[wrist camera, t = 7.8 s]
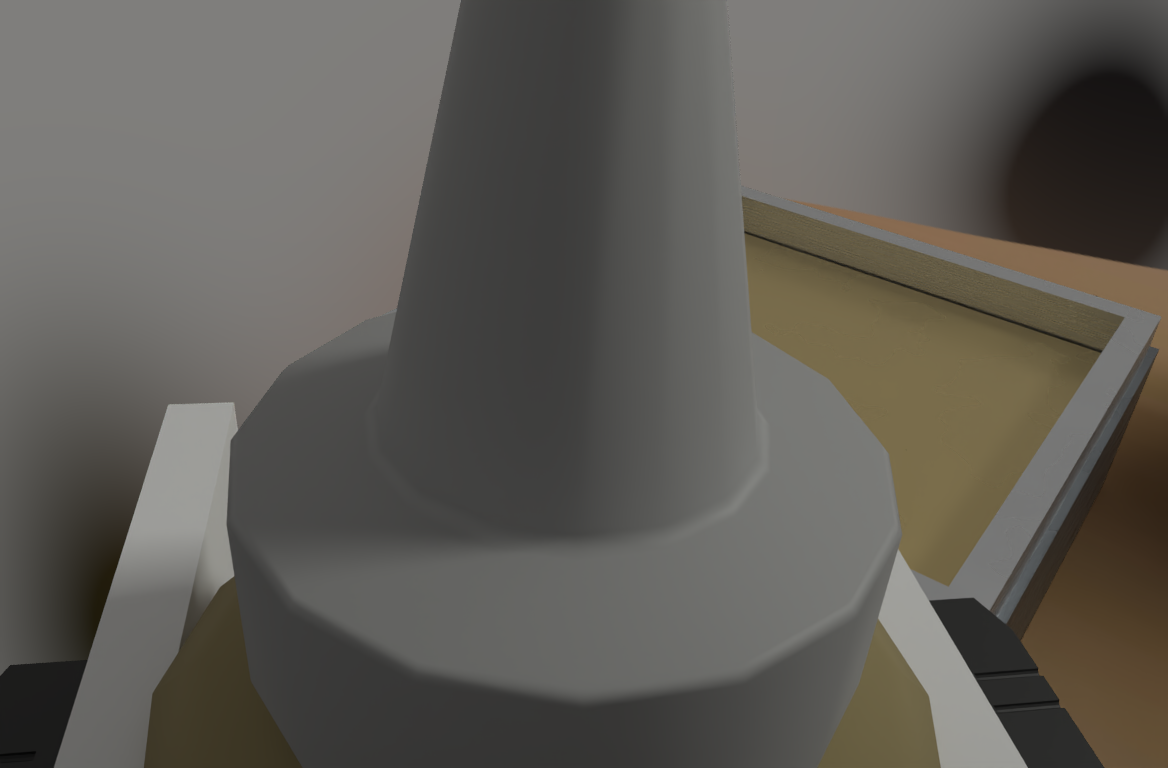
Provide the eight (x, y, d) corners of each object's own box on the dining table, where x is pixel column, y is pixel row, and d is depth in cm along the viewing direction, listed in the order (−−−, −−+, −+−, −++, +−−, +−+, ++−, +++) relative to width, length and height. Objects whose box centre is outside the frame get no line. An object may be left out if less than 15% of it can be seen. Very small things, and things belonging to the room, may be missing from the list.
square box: (677, 318, 41) (698, 158, 38) (1103, 484, 34) (1177, 304, 30) (325, 553, 28) (307, 345, 25) (880, 906, 21) (965, 678, 17)
